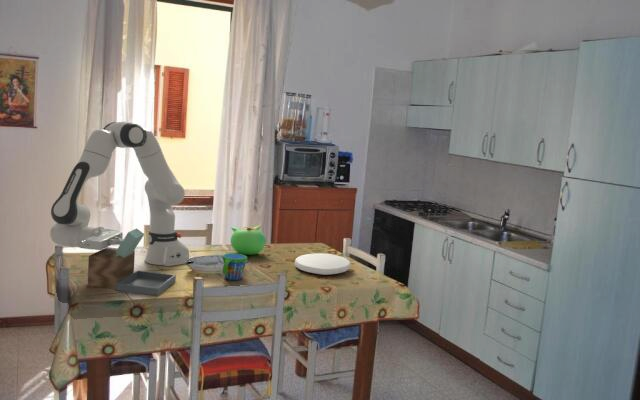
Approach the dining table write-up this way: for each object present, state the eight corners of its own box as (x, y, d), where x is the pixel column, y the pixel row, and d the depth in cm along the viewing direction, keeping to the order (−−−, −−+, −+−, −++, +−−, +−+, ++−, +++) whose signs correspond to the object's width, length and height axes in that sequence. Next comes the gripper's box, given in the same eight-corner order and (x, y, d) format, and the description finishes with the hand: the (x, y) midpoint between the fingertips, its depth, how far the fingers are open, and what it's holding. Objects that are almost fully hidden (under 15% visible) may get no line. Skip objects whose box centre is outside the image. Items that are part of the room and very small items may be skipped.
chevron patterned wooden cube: (87, 285, 238) (88, 256, 237) (106, 274, 254) (107, 247, 252) (116, 289, 237) (118, 259, 235) (133, 278, 253) (134, 250, 251)
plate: (328, 270, 276) (283, 258, 291) (328, 284, 277) (283, 271, 292) (361, 255, 298) (317, 245, 313) (360, 268, 300) (317, 257, 315)
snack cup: (234, 272, 276) (235, 250, 274) (253, 277, 271) (255, 255, 269) (212, 279, 262) (214, 256, 260) (232, 284, 257) (233, 261, 255)
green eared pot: (231, 257, 301) (233, 228, 299) (228, 249, 317) (230, 221, 315) (266, 258, 305) (269, 230, 303) (262, 250, 321) (264, 223, 319)
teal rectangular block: (115, 252, 239) (128, 232, 238) (124, 247, 247) (136, 228, 246) (123, 258, 239) (136, 238, 238) (131, 253, 247) (144, 234, 245)
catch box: (115, 290, 235) (115, 283, 235) (136, 277, 255) (136, 270, 255) (157, 296, 234) (158, 288, 233) (175, 281, 253) (175, 275, 253)
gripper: (77, 235, 233) (112, 239, 232) (102, 226, 254) (134, 229, 252) (77, 251, 234) (111, 255, 233) (102, 240, 254) (133, 244, 253)
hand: (123, 242), depth 243 cm, fingers closed
